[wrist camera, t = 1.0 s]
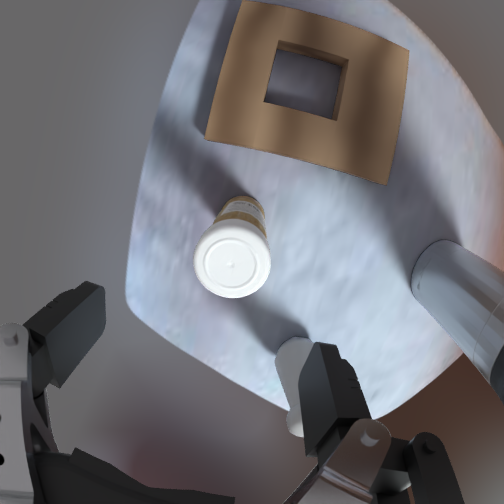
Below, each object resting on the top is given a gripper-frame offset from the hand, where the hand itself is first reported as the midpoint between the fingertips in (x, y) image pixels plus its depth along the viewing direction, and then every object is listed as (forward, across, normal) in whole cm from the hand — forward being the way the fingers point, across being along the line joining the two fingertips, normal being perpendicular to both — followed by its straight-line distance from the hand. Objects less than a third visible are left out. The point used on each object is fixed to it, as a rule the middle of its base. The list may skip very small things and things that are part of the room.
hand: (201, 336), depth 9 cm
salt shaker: (+20, -10, +14) cm, 27 cm away
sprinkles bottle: (+20, 0, 0) cm, 20 cm away
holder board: (+20, -4, -15) cm, 25 cm away
